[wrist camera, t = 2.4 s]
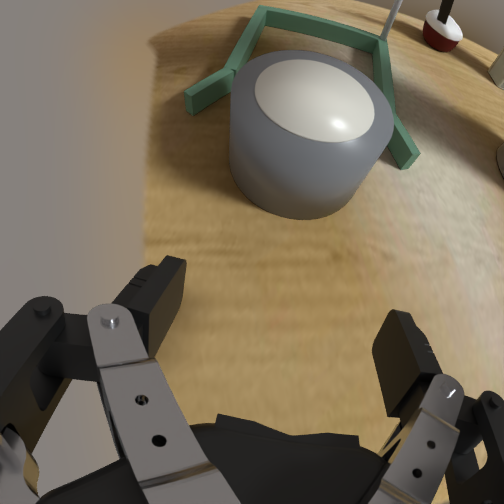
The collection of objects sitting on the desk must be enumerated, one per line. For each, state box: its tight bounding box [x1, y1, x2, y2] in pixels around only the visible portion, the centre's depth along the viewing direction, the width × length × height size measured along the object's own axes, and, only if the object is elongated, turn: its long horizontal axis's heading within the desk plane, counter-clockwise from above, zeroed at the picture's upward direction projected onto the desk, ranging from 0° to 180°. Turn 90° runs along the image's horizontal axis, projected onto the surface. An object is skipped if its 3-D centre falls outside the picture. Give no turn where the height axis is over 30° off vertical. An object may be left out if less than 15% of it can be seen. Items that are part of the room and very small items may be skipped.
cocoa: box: [423, 0, 462, 52], centre depth 32 cm, size 10×6×12 cm, turn 104°
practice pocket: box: [184, 0, 421, 170], centre depth 23 cm, size 20×22×16 cm
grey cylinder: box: [229, 50, 394, 220], centre depth 22 cm, size 11×11×8 cm
